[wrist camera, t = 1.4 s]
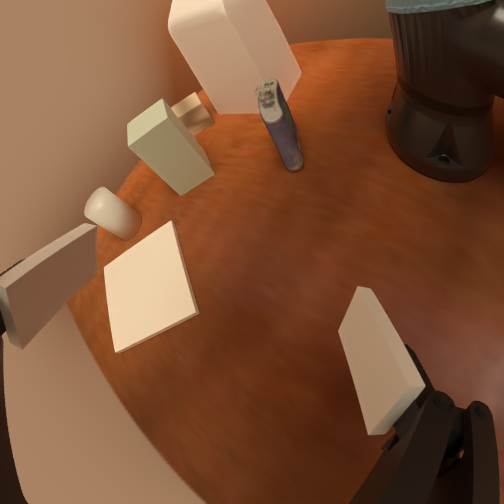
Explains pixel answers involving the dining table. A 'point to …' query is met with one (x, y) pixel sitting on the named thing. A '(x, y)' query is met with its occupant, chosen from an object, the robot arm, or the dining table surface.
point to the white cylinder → (113, 214)
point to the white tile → (148, 289)
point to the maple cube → (193, 114)
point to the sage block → (169, 148)
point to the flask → (280, 123)
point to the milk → (233, 50)
